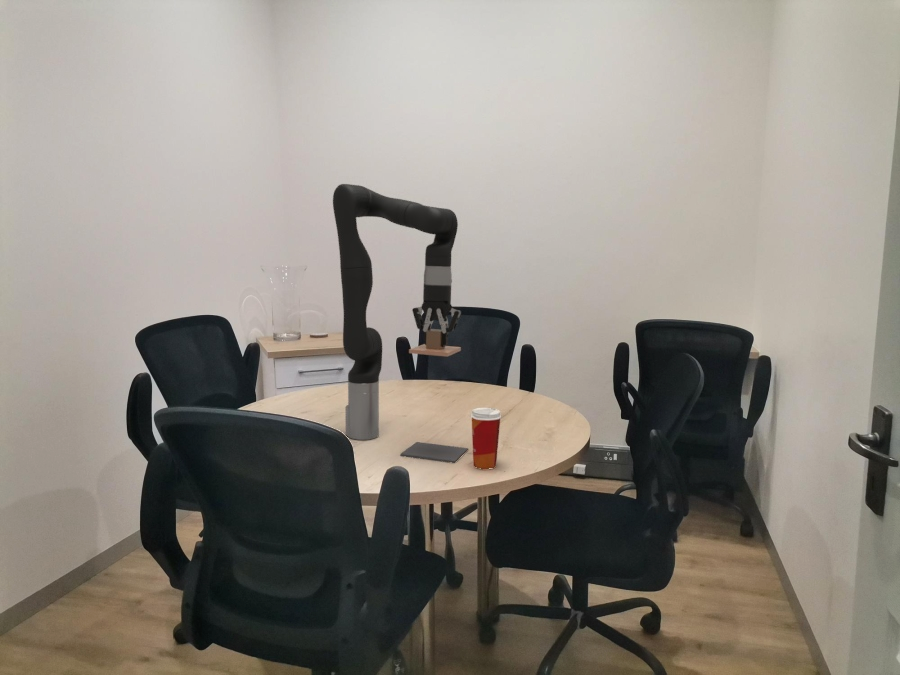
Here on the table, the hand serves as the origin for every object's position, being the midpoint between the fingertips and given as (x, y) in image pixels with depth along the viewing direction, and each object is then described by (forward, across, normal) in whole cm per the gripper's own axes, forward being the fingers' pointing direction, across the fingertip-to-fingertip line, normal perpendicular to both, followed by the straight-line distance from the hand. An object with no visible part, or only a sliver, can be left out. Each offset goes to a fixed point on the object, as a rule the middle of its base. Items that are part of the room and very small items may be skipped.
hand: (435, 345), depth 168 cm
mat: (+31, 0, +1) cm, 31 cm away
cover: (+2, 0, 0) cm, 2 cm away
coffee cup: (+31, +16, -4) cm, 35 cm away
